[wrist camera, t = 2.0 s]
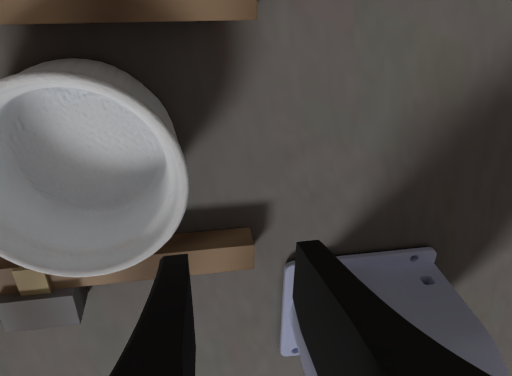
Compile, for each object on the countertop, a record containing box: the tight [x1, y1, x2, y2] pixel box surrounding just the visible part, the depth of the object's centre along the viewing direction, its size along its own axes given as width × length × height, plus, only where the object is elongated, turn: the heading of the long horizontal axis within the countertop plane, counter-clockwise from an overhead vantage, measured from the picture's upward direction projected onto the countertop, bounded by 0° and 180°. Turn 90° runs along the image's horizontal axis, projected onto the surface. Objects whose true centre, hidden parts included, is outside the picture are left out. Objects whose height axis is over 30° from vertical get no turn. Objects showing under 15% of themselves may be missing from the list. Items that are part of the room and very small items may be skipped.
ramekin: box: [0, 58, 189, 277], centre depth 18 cm, size 9×9×4 cm
